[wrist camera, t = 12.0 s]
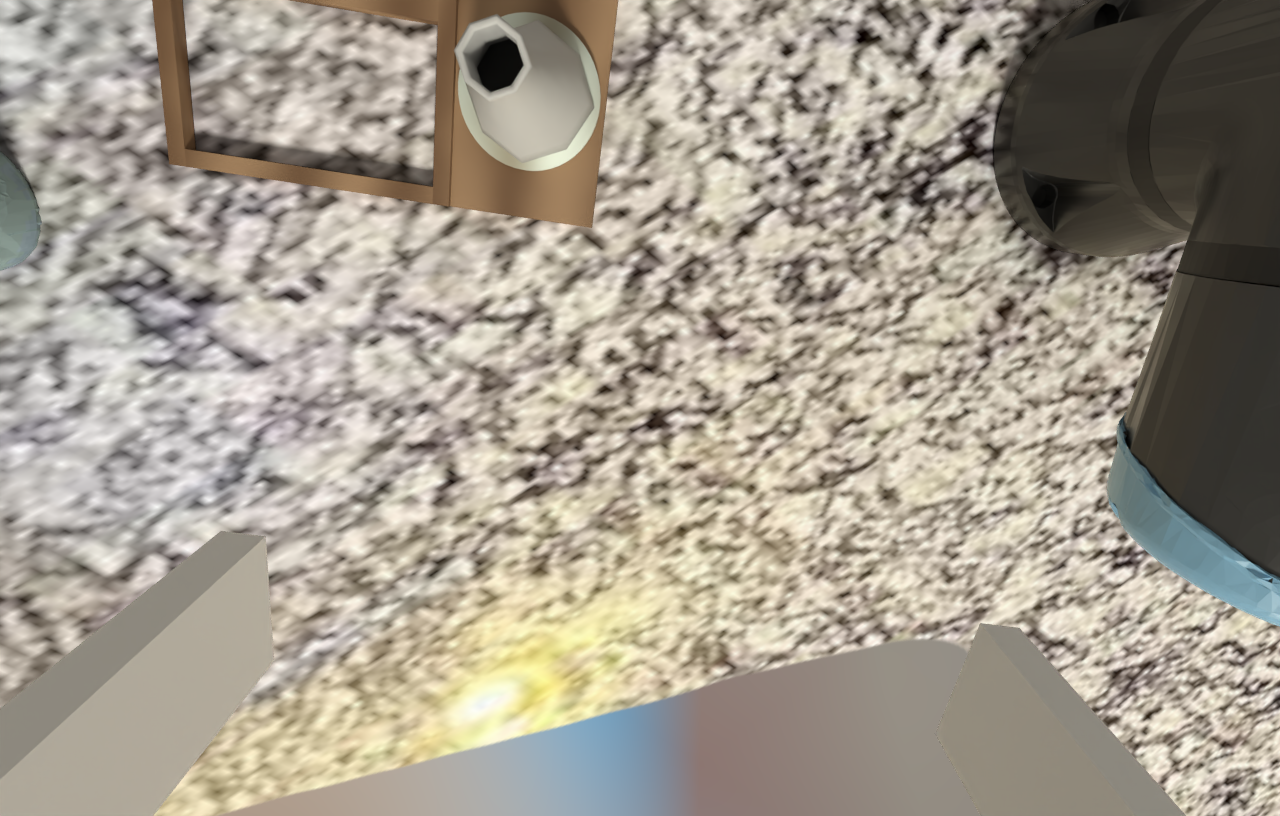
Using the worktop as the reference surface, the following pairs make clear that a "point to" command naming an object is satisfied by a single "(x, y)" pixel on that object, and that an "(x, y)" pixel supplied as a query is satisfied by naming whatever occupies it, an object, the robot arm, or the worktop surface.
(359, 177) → the board
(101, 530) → the worktop surface
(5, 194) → the green cup
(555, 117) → the flask
